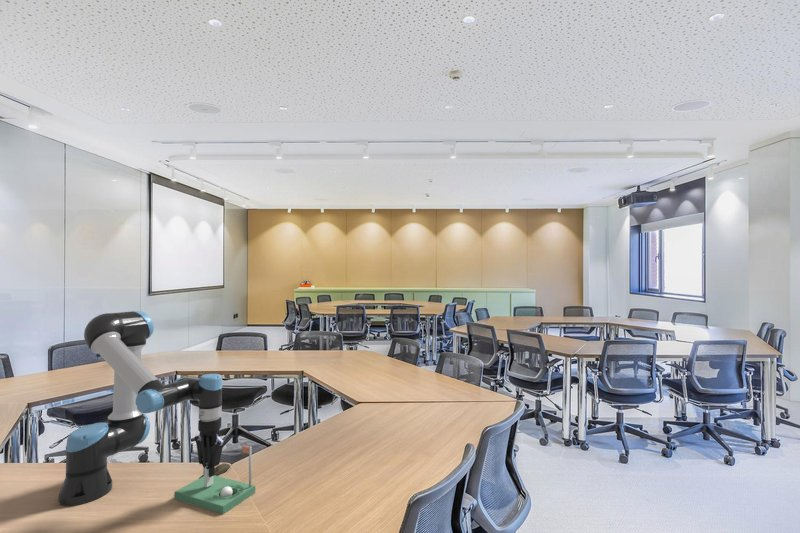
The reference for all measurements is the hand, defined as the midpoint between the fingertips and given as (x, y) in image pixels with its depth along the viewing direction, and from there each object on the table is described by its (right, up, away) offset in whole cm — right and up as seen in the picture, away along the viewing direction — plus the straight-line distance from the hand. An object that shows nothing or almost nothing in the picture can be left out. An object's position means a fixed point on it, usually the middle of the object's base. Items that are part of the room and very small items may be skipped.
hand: (208, 484), depth 138 cm
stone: (-5, -5, +15) cm, 16 cm away
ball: (+8, -1, -3) cm, 9 cm away
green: (+3, -3, -2) cm, 5 cm away
